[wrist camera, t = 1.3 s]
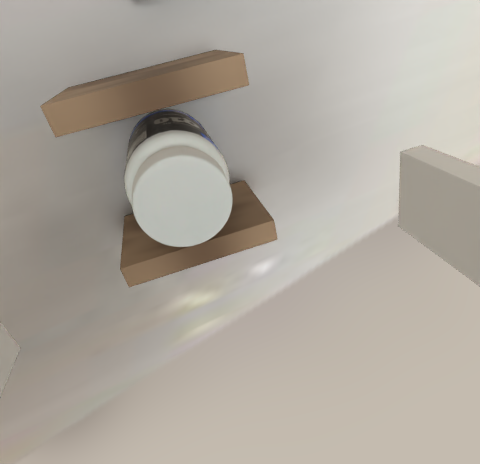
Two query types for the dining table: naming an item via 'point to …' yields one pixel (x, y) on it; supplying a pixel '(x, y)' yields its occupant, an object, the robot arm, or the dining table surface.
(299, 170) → the dining table surface
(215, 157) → the pill bottle
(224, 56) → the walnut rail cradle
